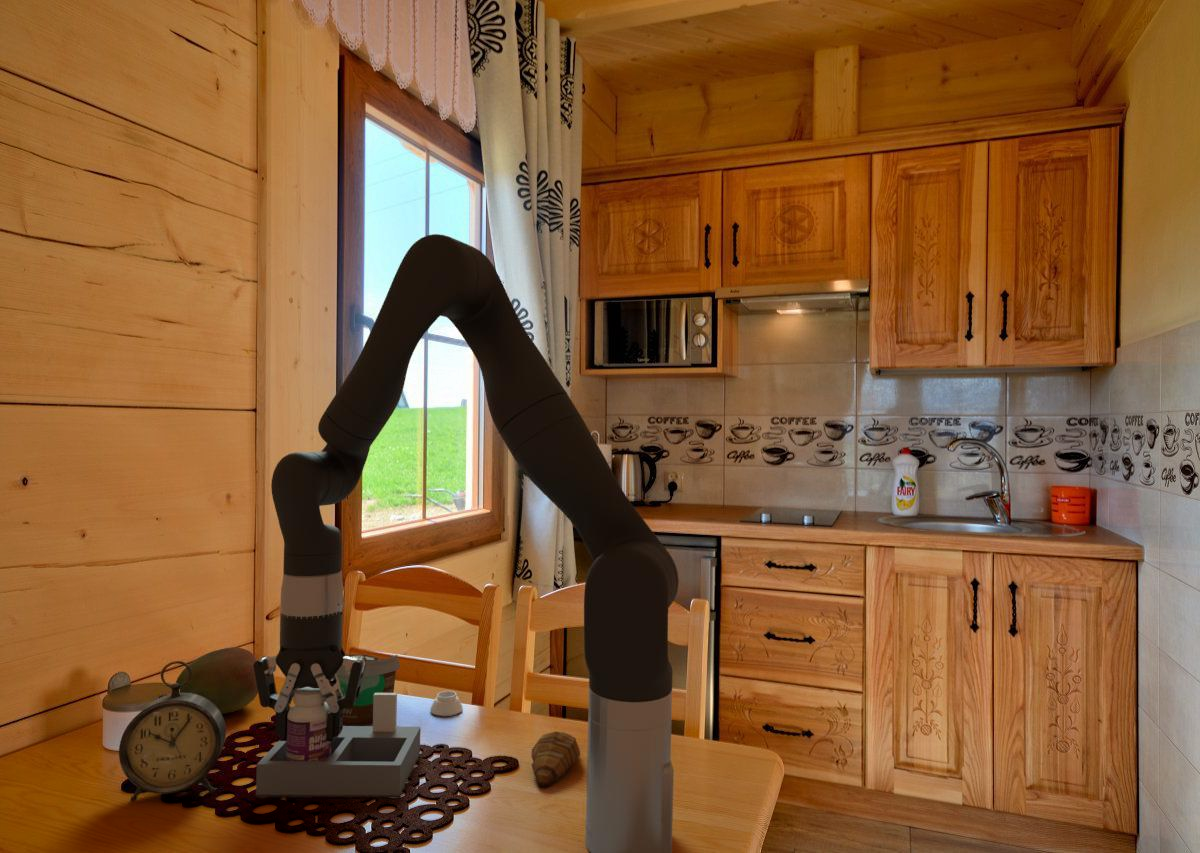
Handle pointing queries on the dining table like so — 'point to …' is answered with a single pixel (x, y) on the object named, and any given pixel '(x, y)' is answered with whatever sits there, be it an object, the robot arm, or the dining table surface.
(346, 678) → the food container
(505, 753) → the dining table surface
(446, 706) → the white jar
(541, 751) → the croissant
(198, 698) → the alarm clock
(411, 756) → the grey divided tray
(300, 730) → the pill bottle
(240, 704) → the fruit
